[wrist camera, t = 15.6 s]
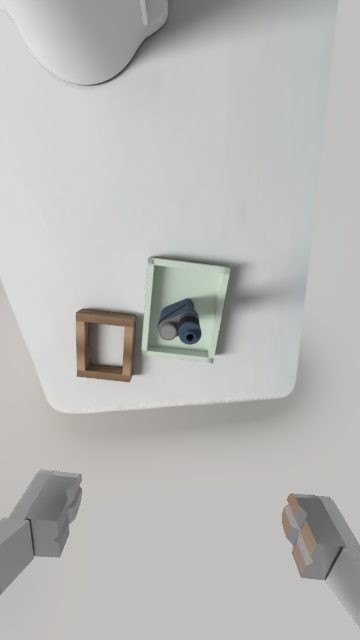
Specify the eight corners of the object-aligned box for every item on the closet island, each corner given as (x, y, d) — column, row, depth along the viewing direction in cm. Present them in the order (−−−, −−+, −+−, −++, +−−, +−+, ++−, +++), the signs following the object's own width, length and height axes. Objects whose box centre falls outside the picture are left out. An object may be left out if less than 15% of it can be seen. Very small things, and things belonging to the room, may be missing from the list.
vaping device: (198, 311, 34) (207, 344, 23) (165, 323, 35) (157, 362, 23) (192, 295, 33) (197, 321, 22) (158, 308, 34) (147, 340, 23)
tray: (150, 256, 32) (148, 257, 30) (227, 266, 33) (230, 268, 30) (143, 347, 37) (141, 354, 34) (211, 355, 37) (213, 362, 35)
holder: (81, 309, 35) (75, 312, 33) (136, 315, 35) (133, 319, 33) (82, 369, 38) (77, 376, 36) (132, 375, 38) (129, 382, 36)
